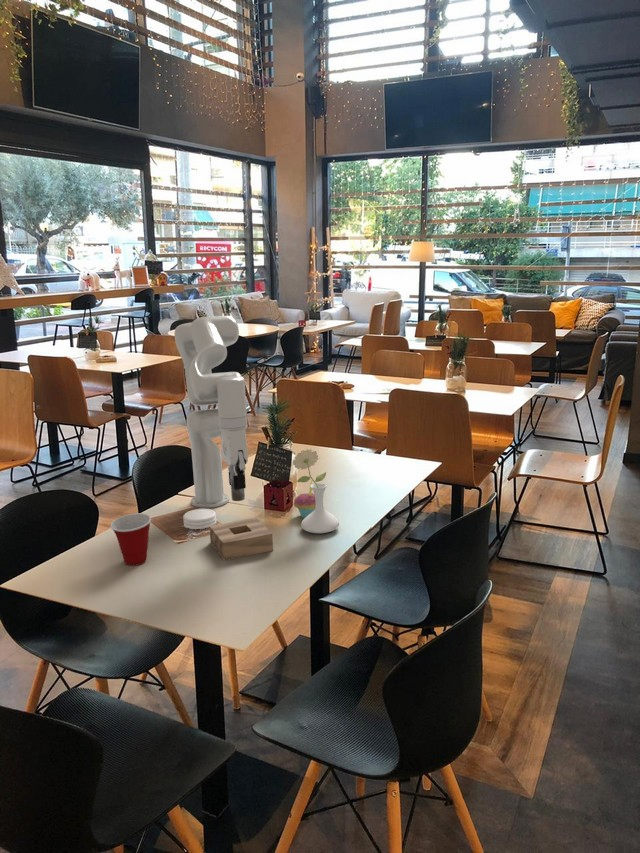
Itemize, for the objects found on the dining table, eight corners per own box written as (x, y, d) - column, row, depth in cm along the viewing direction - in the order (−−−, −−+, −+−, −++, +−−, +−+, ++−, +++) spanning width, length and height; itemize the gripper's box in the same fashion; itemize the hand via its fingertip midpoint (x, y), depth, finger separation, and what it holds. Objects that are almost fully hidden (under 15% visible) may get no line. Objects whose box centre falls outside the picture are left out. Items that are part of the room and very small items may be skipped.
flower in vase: (338, 521, 214) (335, 442, 208) (340, 536, 203) (338, 453, 197) (295, 523, 214) (292, 444, 208) (295, 538, 203) (291, 455, 197)
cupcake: (326, 513, 221) (325, 477, 218) (311, 522, 214) (310, 485, 211) (304, 509, 226) (302, 473, 223) (289, 517, 219) (287, 481, 216)
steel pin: (230, 498, 196) (227, 456, 193) (242, 496, 197) (239, 455, 194) (234, 502, 192) (231, 460, 190) (246, 499, 194) (243, 458, 191)
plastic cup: (105, 564, 189) (101, 523, 186) (136, 550, 198) (132, 510, 195) (133, 573, 183) (128, 530, 180) (163, 558, 192) (159, 517, 189)
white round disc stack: (199, 532, 210) (198, 521, 209) (177, 526, 216) (176, 515, 215) (223, 522, 217) (222, 511, 216) (201, 516, 223) (200, 506, 222)
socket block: (210, 542, 202) (209, 526, 201) (256, 533, 207) (255, 517, 206) (224, 560, 189) (223, 543, 188) (273, 550, 195) (272, 533, 193)
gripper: (211, 418, 196) (216, 480, 200) (228, 430, 181) (233, 497, 185) (237, 415, 199) (241, 476, 203) (256, 426, 184) (260, 492, 188)
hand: (237, 486), depth 194 cm, fingers closed on steel pin, 3 cm apart
